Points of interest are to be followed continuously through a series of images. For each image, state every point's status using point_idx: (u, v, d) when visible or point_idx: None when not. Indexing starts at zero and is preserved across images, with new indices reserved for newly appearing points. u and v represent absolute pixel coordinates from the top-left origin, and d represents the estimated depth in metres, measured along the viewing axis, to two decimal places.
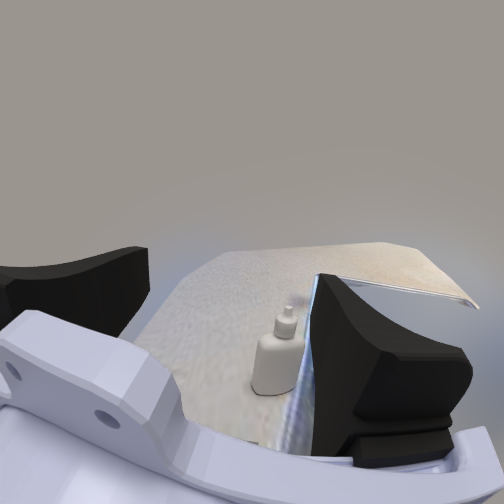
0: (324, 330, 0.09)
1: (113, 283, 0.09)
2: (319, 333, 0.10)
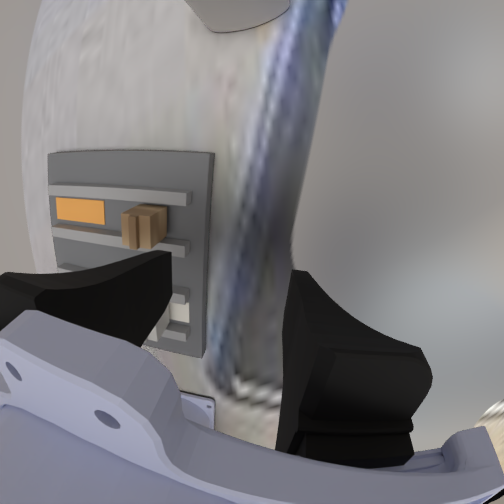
0: (291, 326, 0.09)
1: (140, 289, 0.09)
2: (288, 329, 0.10)
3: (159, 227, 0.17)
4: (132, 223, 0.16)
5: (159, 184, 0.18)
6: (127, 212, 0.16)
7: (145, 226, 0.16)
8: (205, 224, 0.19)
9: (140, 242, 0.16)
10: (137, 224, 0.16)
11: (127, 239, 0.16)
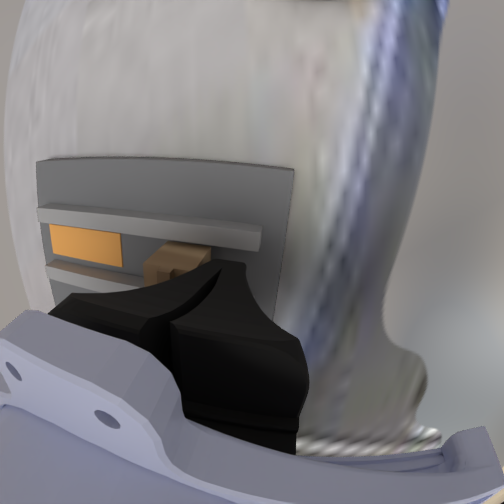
0: None
1: None
2: None
3: None
4: None
5: (209, 213, 0.12)
6: (153, 261, 0.11)
7: None
8: (279, 273, 0.13)
9: None
10: None
11: None
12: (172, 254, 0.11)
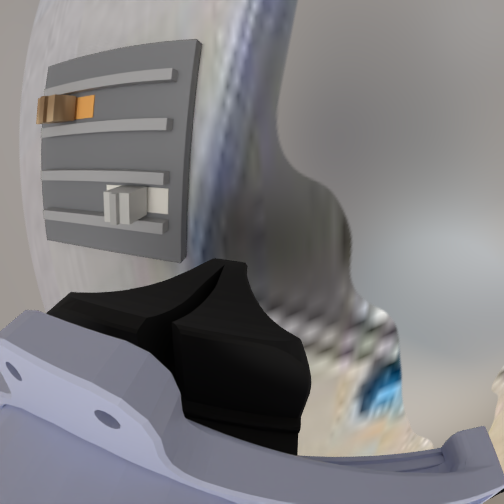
0: None
1: None
2: None
3: (65, 108, 0.16)
4: (42, 101, 0.14)
5: (148, 70, 0.16)
6: None
7: (51, 103, 0.15)
8: (189, 101, 0.17)
9: (47, 117, 0.15)
10: (47, 103, 0.15)
11: None
12: None
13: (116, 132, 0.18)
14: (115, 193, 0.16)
